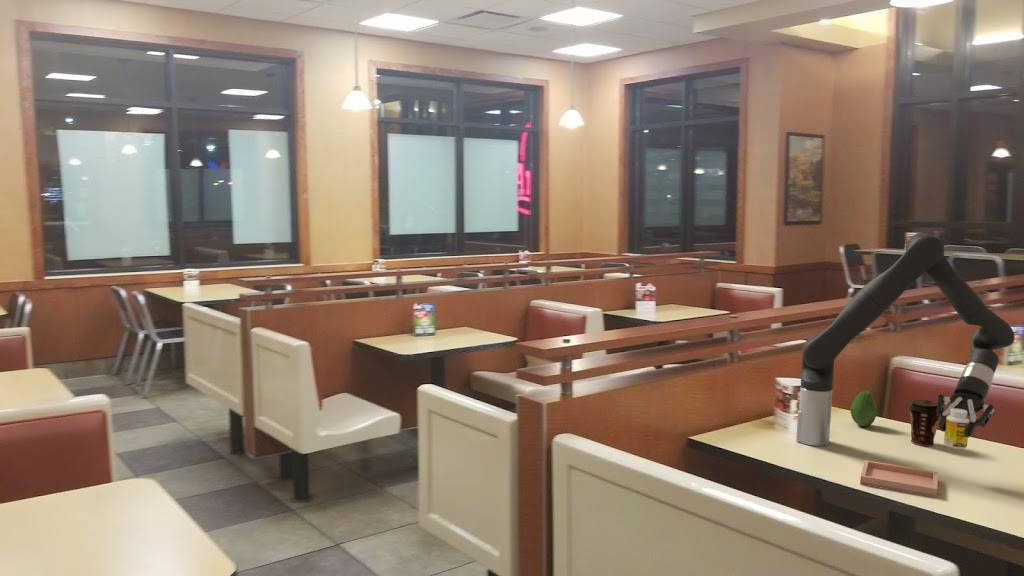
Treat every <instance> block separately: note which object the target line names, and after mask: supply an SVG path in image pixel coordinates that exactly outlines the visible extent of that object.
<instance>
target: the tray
mask: <svg viewBox="0 0 1024 576" xmlns="http://www.w3.org/2000/svg"><path fill="white" fill-rule="evenodd" d="M938 473H939V472H938V471H936V470H934V471H933V470H928V469H921V468H916V467H910V466H904V465H898V464H897V465H896V464H892V463H886V462H877V461H873V460H868V459H867V460H866V459H865V460H864V463H863V467H862V469H861V474H860V478H859V479H860V481H859V484H860V485H861V484H862V486H867V485H870V486H869V487H873V486H876V487H875V488H878V487H882V488H881V489H884V488H886V489H885V490H890V489H891V490H892V491H897V492H901V493H902V492H903V493H908V494H914V495H918V494H919V496H924V497H925V496H926V497H930V498H938V488H939V487H938V480H939V478H938Z"/></svg>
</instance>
